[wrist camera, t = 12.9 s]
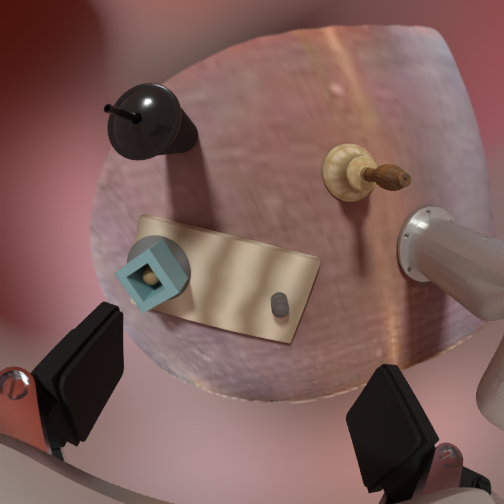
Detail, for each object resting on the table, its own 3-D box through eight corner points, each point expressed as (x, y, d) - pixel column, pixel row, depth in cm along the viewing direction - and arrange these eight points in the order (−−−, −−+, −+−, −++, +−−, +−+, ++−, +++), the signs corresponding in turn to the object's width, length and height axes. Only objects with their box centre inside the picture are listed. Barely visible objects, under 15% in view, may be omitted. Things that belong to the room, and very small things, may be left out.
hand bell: (376, 201, 36) (440, 222, 21) (323, 202, 37) (365, 225, 22) (374, 144, 34) (438, 135, 19) (319, 143, 34) (361, 126, 19)
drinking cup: (148, 153, 35) (57, 146, 16) (167, 104, 33) (91, 57, 14) (195, 170, 36) (131, 171, 17) (216, 119, 34) (172, 69, 15)
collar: (162, 238, 36) (149, 249, 32) (188, 277, 38) (179, 292, 33) (129, 261, 38) (114, 273, 33) (154, 297, 39) (142, 313, 34)
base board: (317, 257, 39) (327, 271, 33) (289, 336, 43) (292, 358, 37) (138, 212, 38) (120, 219, 32) (130, 295, 42) (114, 312, 36)
